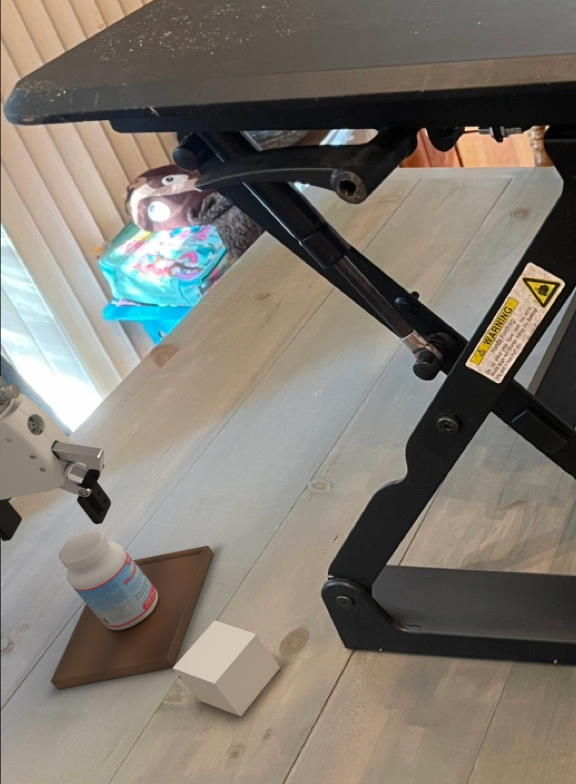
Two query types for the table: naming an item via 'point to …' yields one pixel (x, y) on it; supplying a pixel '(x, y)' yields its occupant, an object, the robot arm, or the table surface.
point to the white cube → (227, 667)
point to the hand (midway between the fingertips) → (58, 522)
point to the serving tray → (138, 625)
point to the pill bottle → (108, 580)
